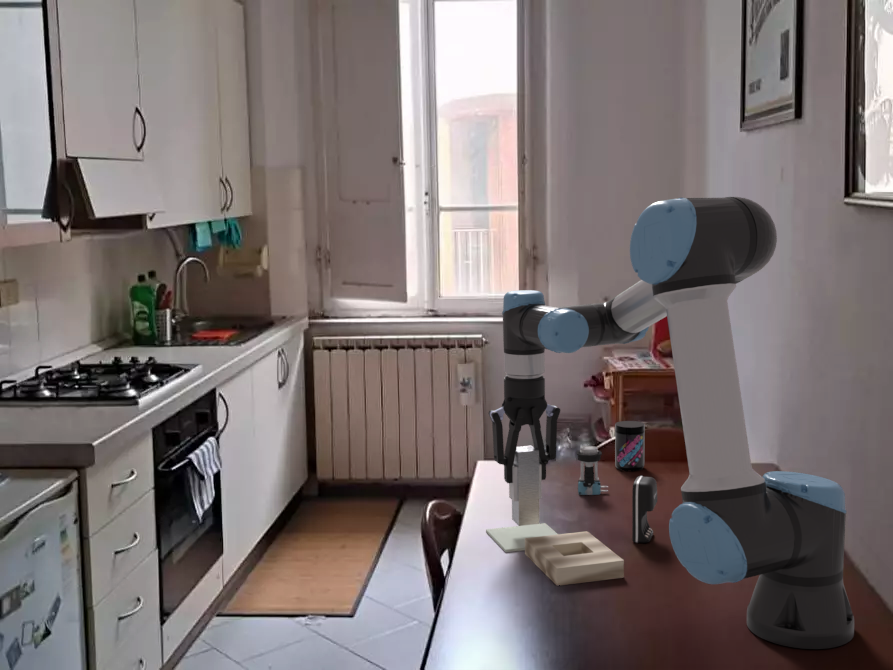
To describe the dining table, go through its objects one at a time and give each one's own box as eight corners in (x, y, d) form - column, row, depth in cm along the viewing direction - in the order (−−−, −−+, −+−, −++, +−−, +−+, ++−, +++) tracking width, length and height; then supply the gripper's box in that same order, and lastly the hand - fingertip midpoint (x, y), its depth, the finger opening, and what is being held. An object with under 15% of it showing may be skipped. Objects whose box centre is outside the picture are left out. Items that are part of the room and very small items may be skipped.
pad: (567, 545, 198) (567, 542, 198) (505, 552, 195) (505, 549, 195) (545, 525, 209) (545, 523, 209) (486, 532, 206) (486, 529, 206)
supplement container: (609, 469, 248) (609, 425, 247) (623, 462, 254) (623, 419, 252) (636, 473, 244) (636, 428, 243) (649, 466, 250) (649, 423, 248)
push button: (607, 489, 232) (607, 444, 231) (609, 497, 227) (609, 450, 225) (576, 489, 233) (575, 444, 231) (577, 497, 227) (577, 451, 226)
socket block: (623, 577, 181) (623, 560, 181) (557, 585, 178) (556, 568, 178) (587, 547, 196) (587, 531, 196) (525, 554, 193) (524, 538, 193)
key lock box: (652, 545, 197) (652, 484, 195) (631, 543, 198) (631, 483, 196) (658, 533, 203) (658, 474, 202) (637, 531, 204) (638, 473, 203)
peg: (539, 523, 200) (538, 450, 198) (518, 525, 199) (518, 452, 197) (532, 517, 204) (531, 445, 202) (512, 519, 203) (511, 447, 201)
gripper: (560, 368, 203) (561, 488, 207) (473, 374, 199) (475, 496, 202) (575, 375, 196) (575, 499, 199) (485, 381, 192) (487, 508, 195)
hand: (525, 497), depth 201 cm, fingers closed on peg, 4 cm apart
